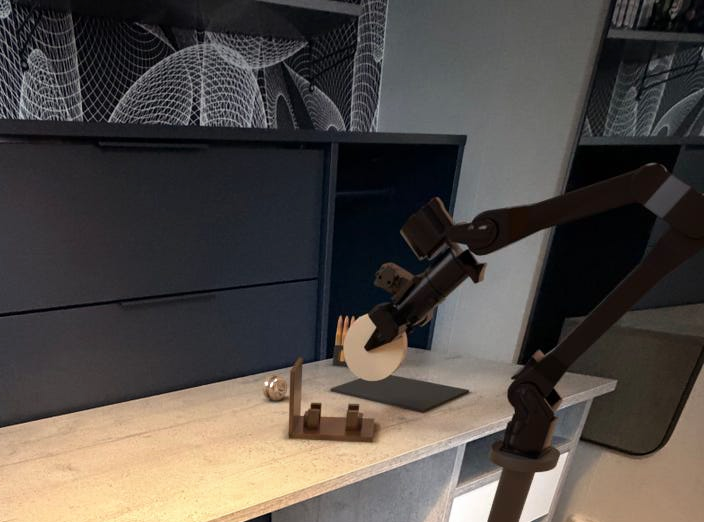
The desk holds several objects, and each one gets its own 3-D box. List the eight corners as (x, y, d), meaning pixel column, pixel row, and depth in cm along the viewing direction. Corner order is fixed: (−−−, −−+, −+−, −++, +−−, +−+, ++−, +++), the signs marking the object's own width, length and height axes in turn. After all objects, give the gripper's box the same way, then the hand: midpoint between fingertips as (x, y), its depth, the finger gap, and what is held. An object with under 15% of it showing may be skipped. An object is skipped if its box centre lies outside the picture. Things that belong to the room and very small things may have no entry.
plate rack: (374, 423, 99) (382, 358, 92) (372, 442, 91) (381, 372, 84) (296, 420, 102) (298, 357, 95) (288, 438, 95) (290, 371, 88)
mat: (468, 392, 111) (469, 389, 111) (423, 412, 102) (423, 409, 102) (377, 374, 127) (377, 372, 126) (330, 390, 118) (330, 388, 117)
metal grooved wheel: (279, 396, 116) (279, 373, 113) (288, 398, 114) (288, 375, 111) (262, 400, 114) (262, 377, 111) (271, 403, 112) (272, 380, 109)
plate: (401, 382, 97) (412, 313, 90) (398, 384, 96) (409, 314, 89) (344, 375, 103) (350, 309, 96) (340, 377, 102) (346, 311, 95)
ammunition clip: (332, 365, 137) (335, 315, 130) (335, 363, 138) (338, 314, 131) (369, 369, 131) (375, 318, 124) (372, 367, 132) (378, 316, 125)
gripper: (427, 239, 91) (362, 306, 103) (387, 247, 79) (319, 322, 91) (463, 290, 91) (395, 351, 103) (429, 306, 79) (356, 372, 91)
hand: (367, 348), depth 97 cm, fingers closed on plate, 2 cm apart
